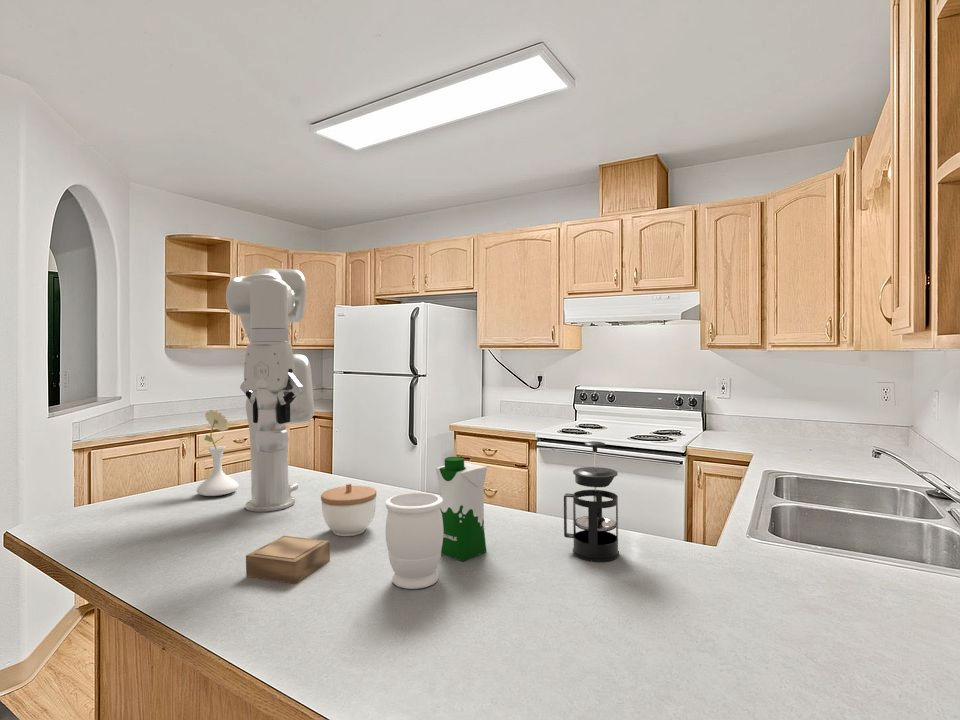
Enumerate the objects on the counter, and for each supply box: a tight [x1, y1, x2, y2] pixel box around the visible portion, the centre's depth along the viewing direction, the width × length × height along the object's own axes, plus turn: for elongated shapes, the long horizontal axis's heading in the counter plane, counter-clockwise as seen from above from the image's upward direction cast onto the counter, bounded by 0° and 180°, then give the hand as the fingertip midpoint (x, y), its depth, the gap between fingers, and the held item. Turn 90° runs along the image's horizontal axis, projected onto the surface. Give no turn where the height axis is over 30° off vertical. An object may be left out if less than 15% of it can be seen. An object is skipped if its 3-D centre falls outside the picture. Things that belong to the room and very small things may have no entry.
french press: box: [563, 440, 620, 563], centre depth 111 cm, size 12×9×23 cm
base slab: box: [245, 535, 331, 584], centre depth 105 cm, size 11×11×4 cm
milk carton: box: [435, 456, 488, 562], centre depth 112 cm, size 9×9×20 cm
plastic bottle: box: [255, 378, 290, 453], centre depth 115 cm, size 6×7×20 cm
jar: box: [385, 492, 444, 590], centre depth 99 cm, size 11×10×15 cm
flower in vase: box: [196, 408, 240, 497], centre depth 160 cm, size 13×11×25 cm
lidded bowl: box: [320, 483, 377, 537], centre depth 126 cm, size 13×13×11 cm
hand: (271, 421), depth 115 cm, fingers closed on plastic bottle, 5 cm apart
